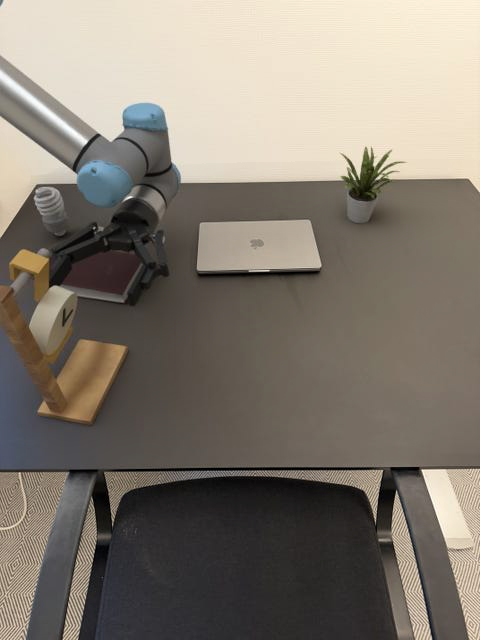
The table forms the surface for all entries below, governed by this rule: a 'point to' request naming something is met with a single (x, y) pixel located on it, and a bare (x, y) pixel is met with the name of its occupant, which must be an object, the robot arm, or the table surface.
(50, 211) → the light bulb
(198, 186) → the table surface
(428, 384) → the table surface
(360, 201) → the house plant
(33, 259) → the clock
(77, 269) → the book
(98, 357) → the stand
